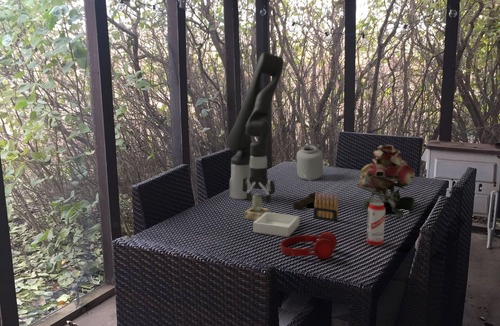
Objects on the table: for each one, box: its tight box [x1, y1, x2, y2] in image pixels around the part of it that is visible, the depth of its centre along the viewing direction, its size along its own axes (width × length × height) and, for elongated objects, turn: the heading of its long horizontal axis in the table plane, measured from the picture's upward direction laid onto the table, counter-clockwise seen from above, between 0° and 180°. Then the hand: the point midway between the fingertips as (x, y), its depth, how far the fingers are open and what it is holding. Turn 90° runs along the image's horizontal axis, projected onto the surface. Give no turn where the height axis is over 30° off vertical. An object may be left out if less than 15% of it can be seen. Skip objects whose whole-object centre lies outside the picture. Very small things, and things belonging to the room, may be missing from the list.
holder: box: [243, 206, 270, 221], centre depth 219 cm, size 8×8×3 cm
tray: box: [252, 211, 301, 238], centre depth 204 cm, size 15×15×4 cm
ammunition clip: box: [313, 191, 339, 223], centre depth 215 cm, size 11×2×12 cm, turn 63°
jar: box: [296, 137, 324, 181], centre depth 284 cm, size 19×15×25 cm
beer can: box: [365, 201, 386, 247], centre depth 187 cm, size 6×6×16 cm
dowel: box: [251, 193, 263, 213], centre depth 218 cm, size 4×4×10 cm
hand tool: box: [292, 191, 317, 211], centre depth 237 cm, size 19×4×5 cm, turn 141°
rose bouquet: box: [356, 144, 416, 218], centre depth 230 cm, size 26×29×30 cm
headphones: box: [280, 231, 338, 260], centre depth 181 cm, size 15×7×20 cm
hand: (258, 201), depth 218 cm, fingers open, 8 cm apart
